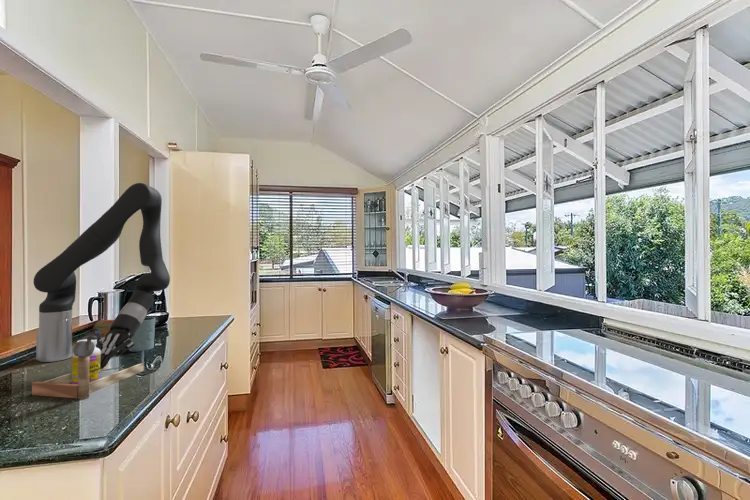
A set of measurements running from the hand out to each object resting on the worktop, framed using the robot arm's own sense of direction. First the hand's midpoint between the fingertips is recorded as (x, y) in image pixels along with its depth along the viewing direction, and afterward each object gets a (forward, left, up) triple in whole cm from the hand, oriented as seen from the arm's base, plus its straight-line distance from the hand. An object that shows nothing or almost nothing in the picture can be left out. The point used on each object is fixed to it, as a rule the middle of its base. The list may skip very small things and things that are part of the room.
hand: (98, 367), depth 116 cm
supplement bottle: (0, -4, -4) cm, 6 cm away
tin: (-41, +49, -4) cm, 65 cm away
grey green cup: (-15, +35, -4) cm, 39 cm away
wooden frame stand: (+2, -2, -4) cm, 5 cm away
